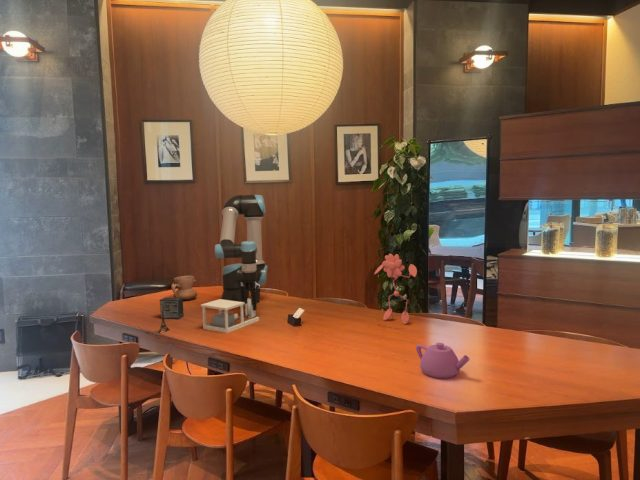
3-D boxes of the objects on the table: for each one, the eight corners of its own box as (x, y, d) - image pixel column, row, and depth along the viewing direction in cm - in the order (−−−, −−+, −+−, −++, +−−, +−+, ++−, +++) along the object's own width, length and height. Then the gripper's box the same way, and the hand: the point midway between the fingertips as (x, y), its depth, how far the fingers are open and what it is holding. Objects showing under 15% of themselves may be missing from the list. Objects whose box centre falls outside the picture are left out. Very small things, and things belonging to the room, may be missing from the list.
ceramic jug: (188, 295, 303) (187, 274, 302) (203, 297, 295) (202, 275, 293) (165, 301, 288) (163, 279, 287) (180, 304, 280) (179, 280, 279)
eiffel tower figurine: (143, 333, 222) (142, 306, 220) (161, 328, 230) (159, 302, 229) (164, 338, 214) (163, 310, 212) (181, 332, 222) (180, 305, 221)
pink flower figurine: (381, 315, 244) (379, 250, 240) (423, 325, 226) (423, 254, 222) (362, 322, 233) (360, 253, 229) (405, 332, 215) (404, 258, 211)
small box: (184, 316, 251) (183, 297, 250) (179, 319, 245) (178, 299, 244) (165, 315, 252) (164, 296, 251) (160, 319, 246) (159, 299, 245)
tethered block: (247, 316, 244) (246, 297, 243) (257, 317, 241) (257, 298, 240) (212, 328, 222) (211, 308, 221) (223, 330, 218) (222, 309, 217)
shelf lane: (235, 319, 243) (234, 294, 242) (260, 322, 235) (259, 297, 234) (201, 331, 222) (200, 304, 221) (227, 335, 214) (226, 308, 213)
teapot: (461, 386, 154) (461, 355, 153) (407, 372, 167) (407, 343, 166) (476, 373, 165) (477, 344, 164) (424, 361, 178) (425, 334, 176)
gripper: (232, 271, 240) (234, 315, 242) (256, 273, 231) (258, 319, 234) (241, 269, 246) (243, 312, 248) (266, 271, 238) (267, 316, 240)
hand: (250, 315), depth 241 cm, fingers closed on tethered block, 3 cm apart
